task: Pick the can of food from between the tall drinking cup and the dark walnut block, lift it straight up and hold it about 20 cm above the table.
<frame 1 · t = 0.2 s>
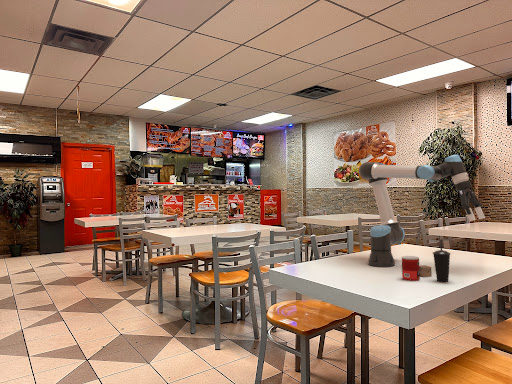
hand: (477, 219, 188), 28 cm above the table, tool tilted 20°, fingers open, 13 cm apart
walnut block: (424, 276, 183), on the table
drinking cup: (442, 281, 171), on the table
canned food: (411, 279, 177), on the table
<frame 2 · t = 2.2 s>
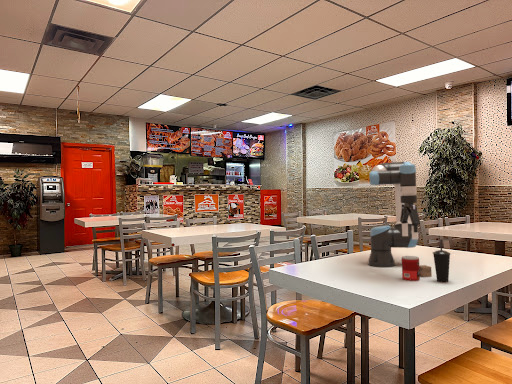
hand: (410, 237, 177), 21 cm above the table, tool pointing down, fingers open, 13 cm apart
nothing on the table moved.
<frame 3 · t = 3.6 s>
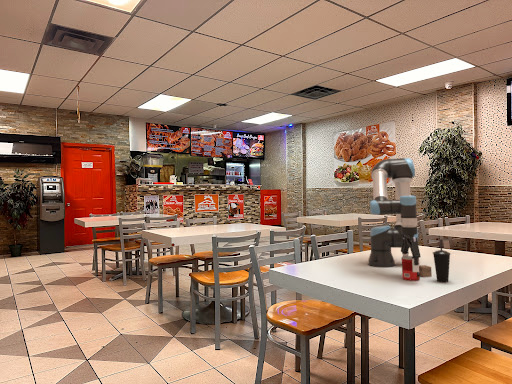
hand: (410, 269, 177), 5 cm above the table, tool pointing down, fingers open, 13 cm apart
nothing on the table moved.
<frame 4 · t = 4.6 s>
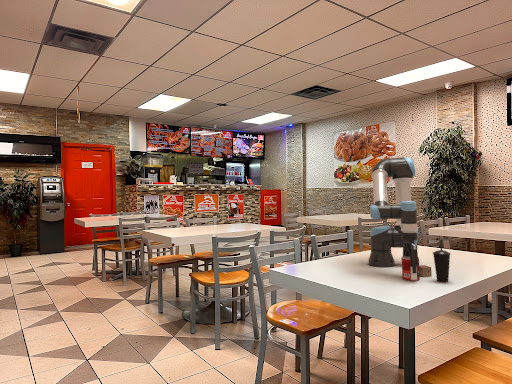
hand: (410, 277, 177), 1 cm above the table, tool pointing down, fingers closed on canned food, 8 cm apart
canned food: (411, 279, 177), on the table, touching gripper
everything else where it was.
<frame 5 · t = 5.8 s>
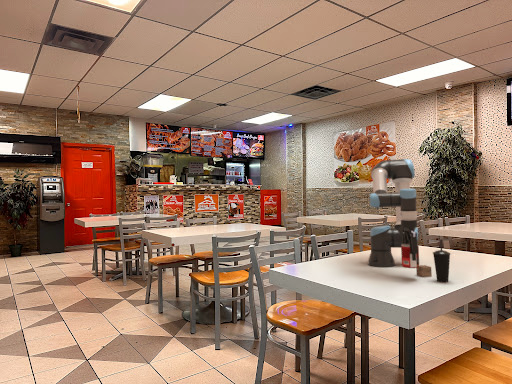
hand: (410, 265, 177), 7 cm above the table, tool pointing down, fingers closed on canned food, 8 cm apart
canned food: (410, 266, 177), point 6 cm above the table, touching gripper
everything else where it was.
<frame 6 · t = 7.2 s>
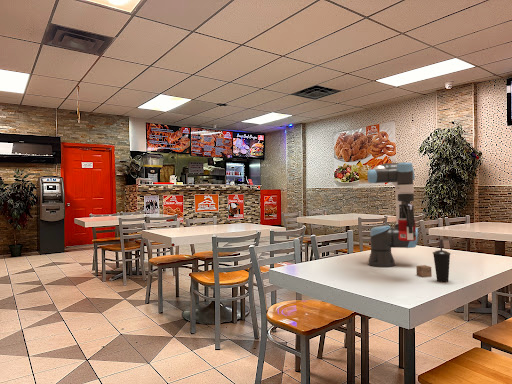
hand: (407, 238, 178), 20 cm above the table, tool pointing down, fingers closed on canned food, 8 cm apart
canned food: (407, 240, 178), point 19 cm above the table, touching gripper
everything else where it was.
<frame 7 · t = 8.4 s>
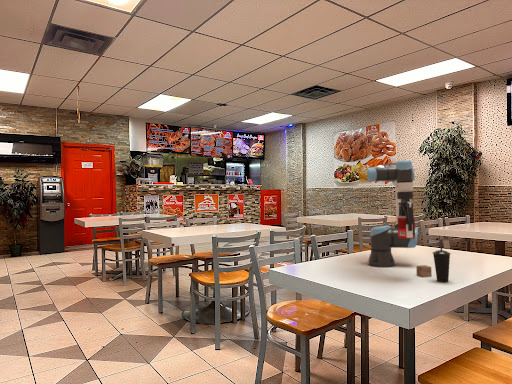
hand: (406, 236, 178), 21 cm above the table, tool pointing down, fingers closed on canned food, 8 cm apart
canned food: (406, 238, 178), point 20 cm above the table, touching gripper
everything else where it was.
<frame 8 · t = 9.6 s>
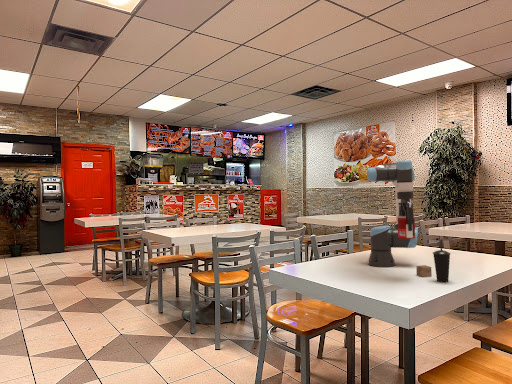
hand: (406, 236, 178), 21 cm above the table, tool pointing down, fingers closed on canned food, 8 cm apart
canned food: (406, 238, 178), point 20 cm above the table, touching gripper
everything else where it was.
at the end: the gripper is holding canned food; canned food point 20.2 cm above the table; walnut block moved 0.1 cm from its start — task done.
